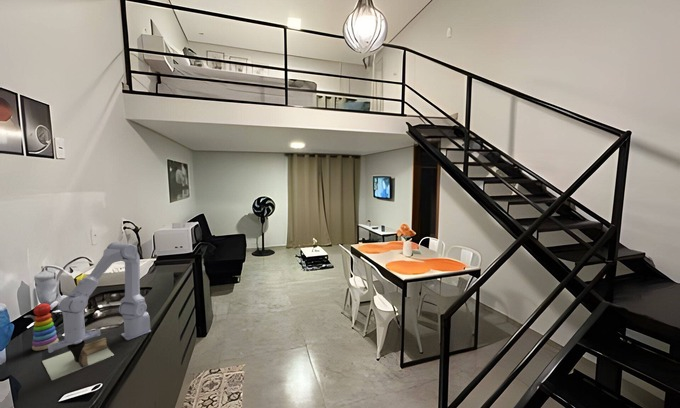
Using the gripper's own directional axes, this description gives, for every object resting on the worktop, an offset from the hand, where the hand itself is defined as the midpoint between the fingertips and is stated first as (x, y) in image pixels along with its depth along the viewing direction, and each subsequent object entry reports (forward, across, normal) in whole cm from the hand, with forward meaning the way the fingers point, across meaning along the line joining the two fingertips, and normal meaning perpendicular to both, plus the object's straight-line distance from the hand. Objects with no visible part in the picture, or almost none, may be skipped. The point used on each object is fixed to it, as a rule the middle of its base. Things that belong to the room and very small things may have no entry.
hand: (76, 361), depth 108 cm
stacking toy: (+2, -4, +29) cm, 29 cm away
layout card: (+2, +2, +6) cm, 6 cm away
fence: (+2, +5, +6) cm, 8 cm away
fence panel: (+1, +2, +1) cm, 2 cm away
